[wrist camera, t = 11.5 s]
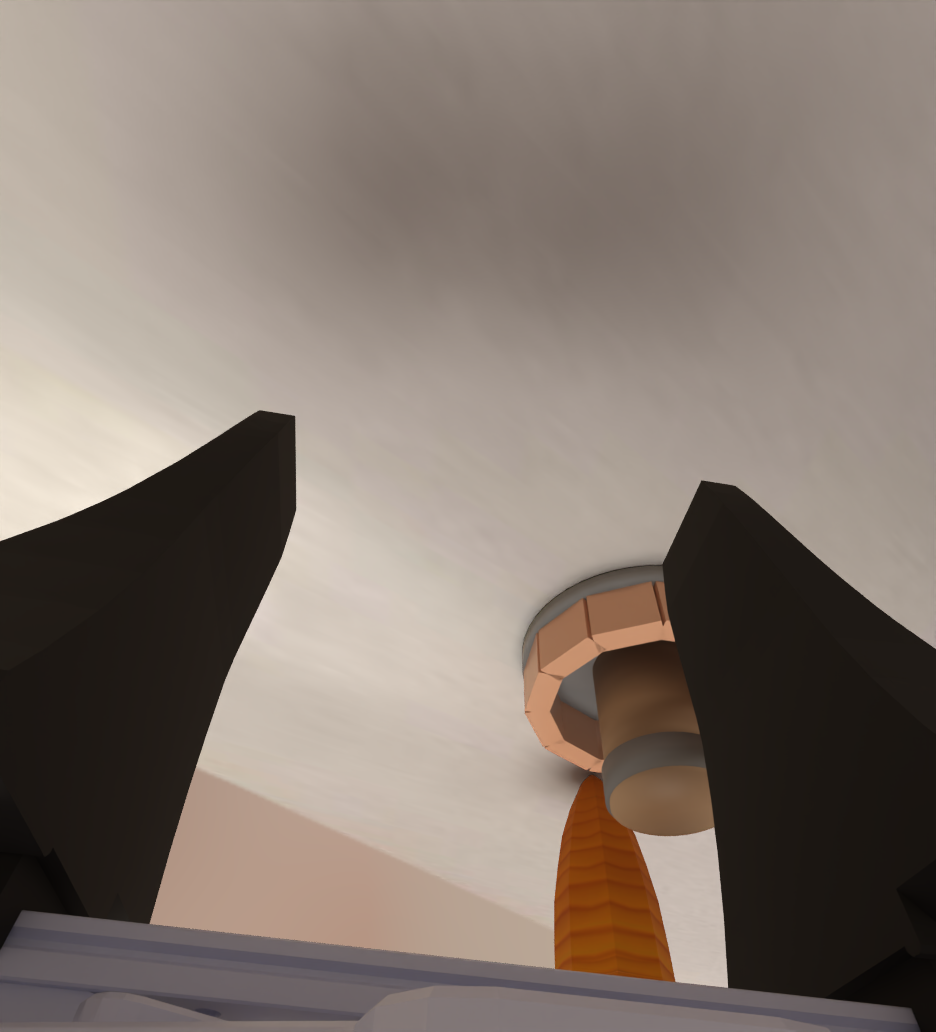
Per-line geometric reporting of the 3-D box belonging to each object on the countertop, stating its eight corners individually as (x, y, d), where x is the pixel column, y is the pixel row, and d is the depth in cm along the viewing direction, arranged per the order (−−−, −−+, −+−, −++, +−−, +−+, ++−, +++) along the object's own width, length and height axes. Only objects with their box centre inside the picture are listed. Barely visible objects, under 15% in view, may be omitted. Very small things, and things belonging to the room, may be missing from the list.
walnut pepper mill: (710, 630, 26) (756, 769, 21) (693, 702, 29) (730, 838, 24) (591, 632, 26) (610, 768, 22) (586, 703, 29) (602, 837, 24)
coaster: (814, 586, 25) (843, 642, 23) (711, 736, 32) (726, 791, 29) (553, 547, 25) (557, 600, 22) (502, 708, 31) (501, 762, 29)
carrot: (637, 799, 36) (703, 1192, 24) (546, 800, 36) (566, 1185, 24) (641, 748, 33) (719, 1169, 21) (542, 750, 33) (563, 1162, 21)
